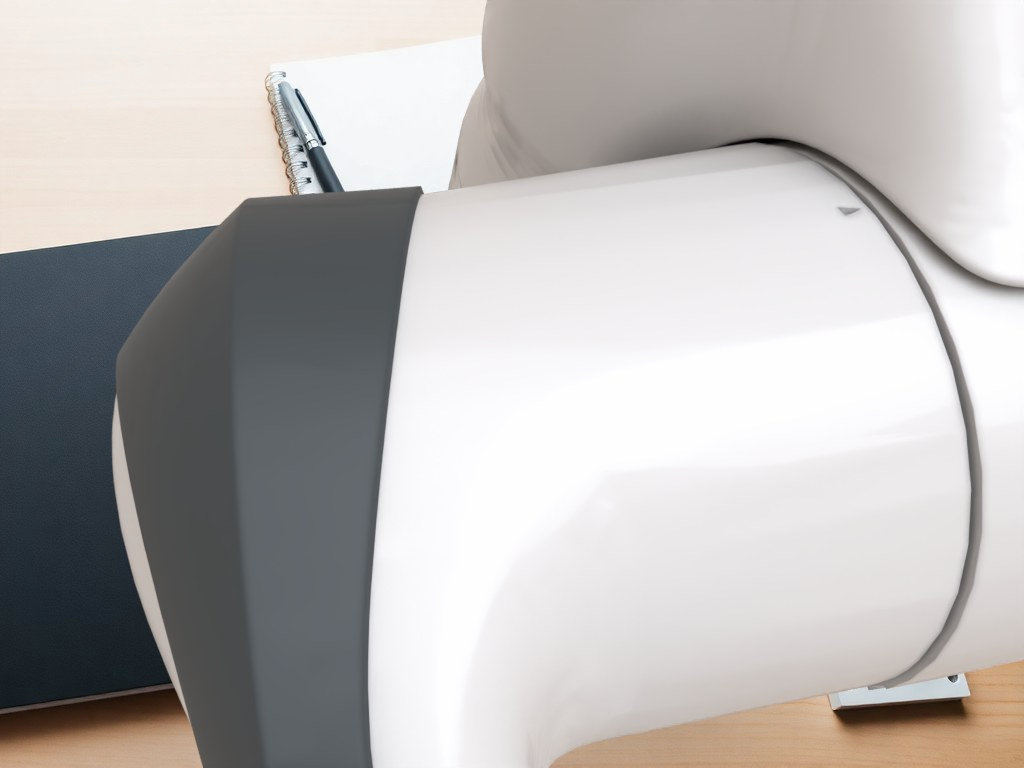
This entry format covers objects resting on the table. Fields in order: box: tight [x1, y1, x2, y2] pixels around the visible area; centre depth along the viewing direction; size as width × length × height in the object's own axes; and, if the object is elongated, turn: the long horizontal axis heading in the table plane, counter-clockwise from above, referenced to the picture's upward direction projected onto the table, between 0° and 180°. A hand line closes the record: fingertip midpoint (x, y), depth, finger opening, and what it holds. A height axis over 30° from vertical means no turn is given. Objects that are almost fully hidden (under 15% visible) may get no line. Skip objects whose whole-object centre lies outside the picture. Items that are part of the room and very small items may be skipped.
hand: (506, 372), depth 39 cm, fingers closed
